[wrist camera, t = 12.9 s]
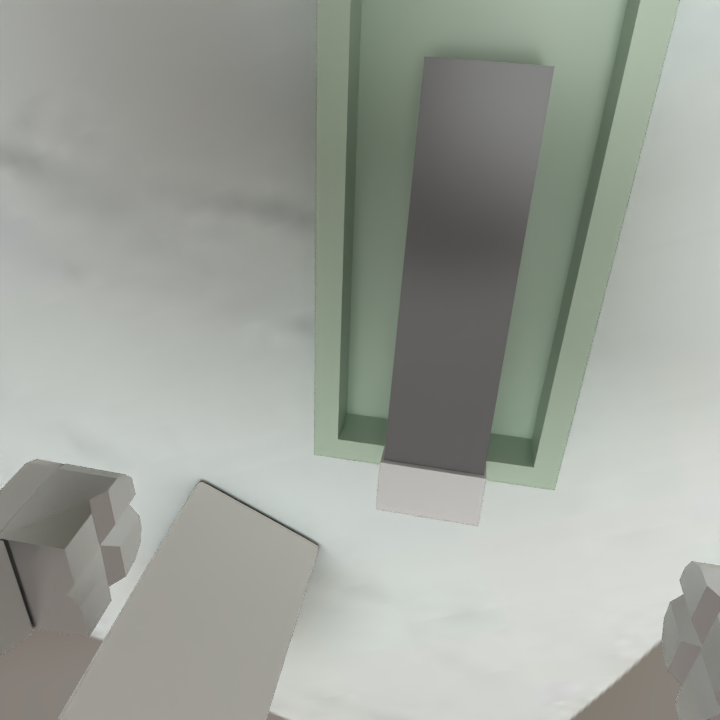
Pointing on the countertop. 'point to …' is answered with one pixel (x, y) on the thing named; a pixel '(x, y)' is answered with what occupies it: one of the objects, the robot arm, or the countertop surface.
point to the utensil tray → (546, 216)
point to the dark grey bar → (459, 280)
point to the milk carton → (202, 620)
